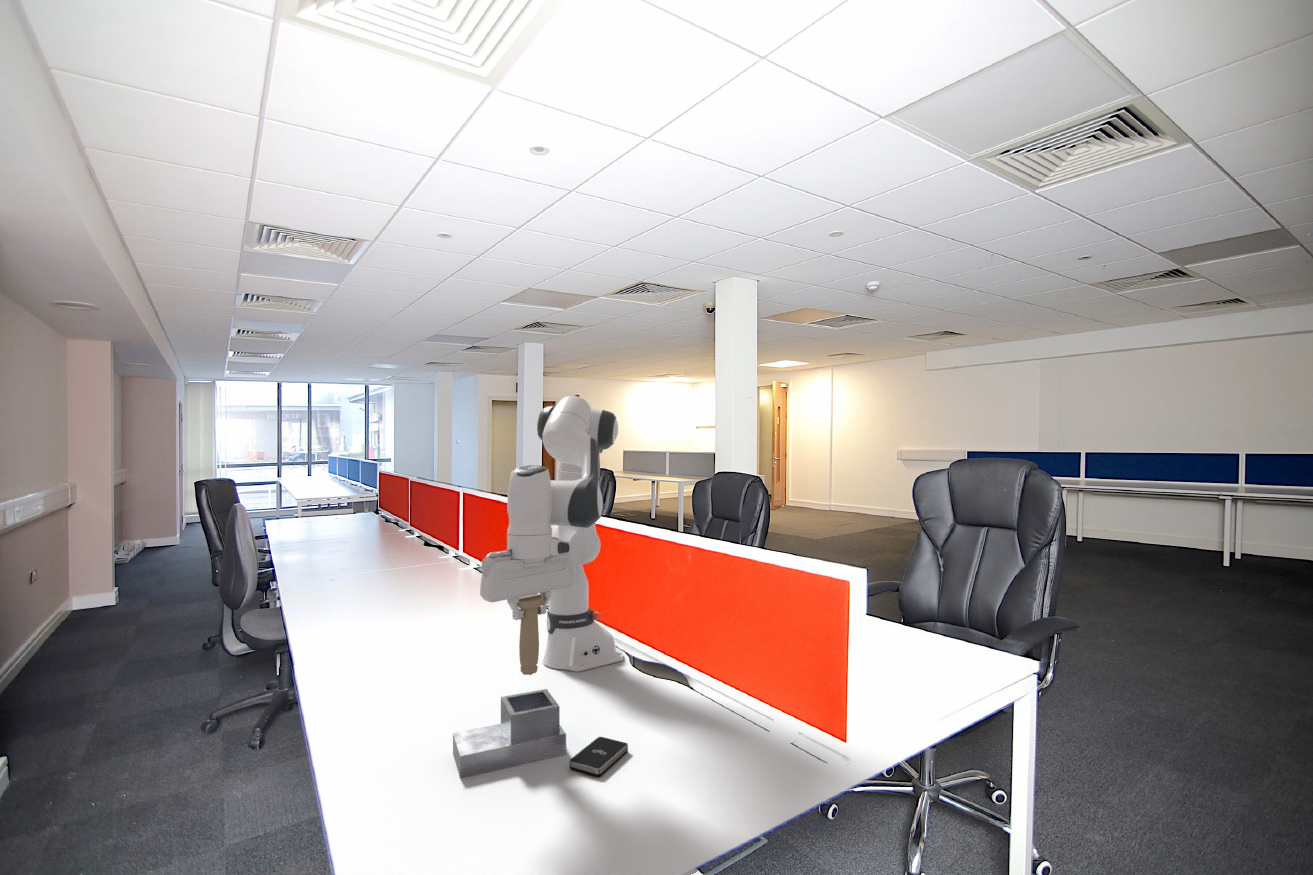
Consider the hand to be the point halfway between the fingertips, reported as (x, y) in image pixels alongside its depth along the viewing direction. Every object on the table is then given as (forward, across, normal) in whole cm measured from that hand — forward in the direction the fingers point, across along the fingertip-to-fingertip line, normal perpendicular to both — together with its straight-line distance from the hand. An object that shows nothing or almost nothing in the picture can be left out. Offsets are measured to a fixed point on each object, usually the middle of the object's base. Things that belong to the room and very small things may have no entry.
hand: (529, 616), depth 123 cm
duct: (+26, -4, +1) cm, 27 cm away
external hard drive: (+27, +7, -13) cm, 31 cm away
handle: (+12, 0, 0) cm, 12 cm away
